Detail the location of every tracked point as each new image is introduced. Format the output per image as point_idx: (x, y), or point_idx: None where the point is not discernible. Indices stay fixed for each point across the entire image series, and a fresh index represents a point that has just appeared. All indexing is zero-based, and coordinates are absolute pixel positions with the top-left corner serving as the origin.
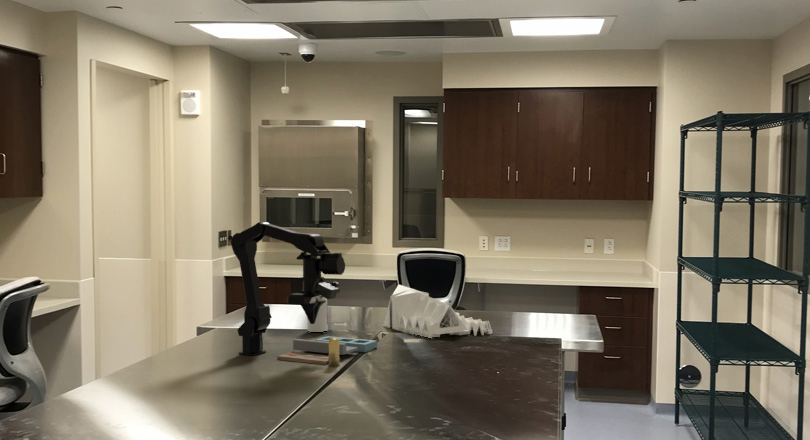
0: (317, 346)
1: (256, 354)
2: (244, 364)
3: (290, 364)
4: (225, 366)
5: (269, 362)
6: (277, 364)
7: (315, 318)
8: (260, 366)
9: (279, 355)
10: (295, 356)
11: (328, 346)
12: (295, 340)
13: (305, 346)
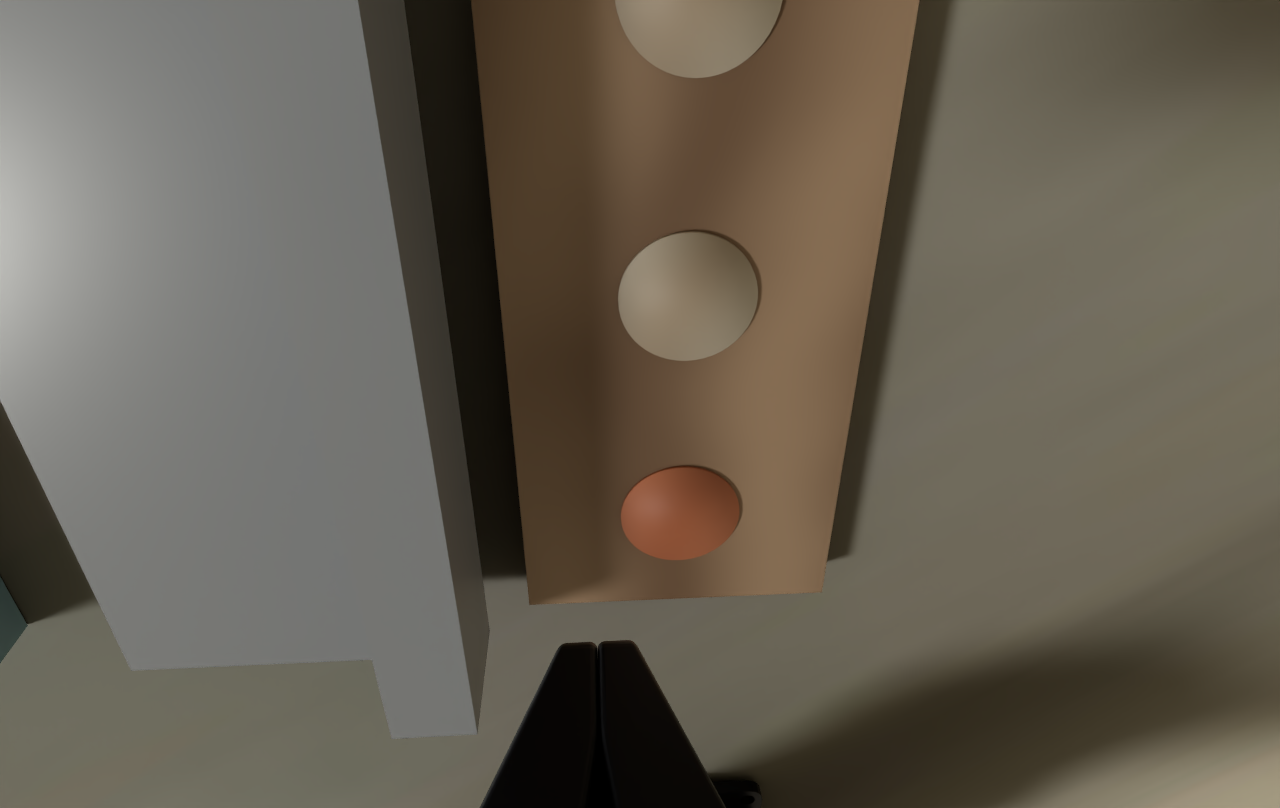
0: (432, 358)
1: (726, 784)
2: (1118, 652)
3: (1032, 301)
4: (1222, 710)
5: (980, 541)
6: (1062, 423)
7: (552, 753)
8: (1191, 502)
9: (783, 592)
10: (764, 430)
11: (394, 141)
12: (474, 703)
13: (462, 530)
